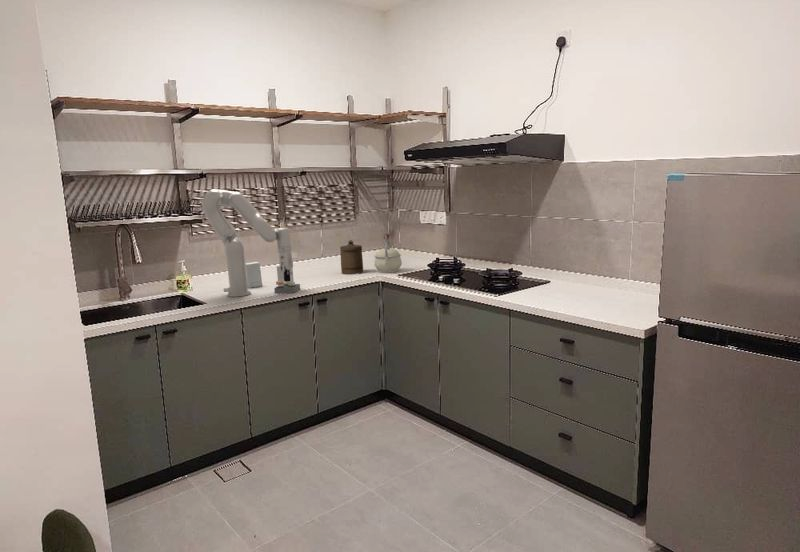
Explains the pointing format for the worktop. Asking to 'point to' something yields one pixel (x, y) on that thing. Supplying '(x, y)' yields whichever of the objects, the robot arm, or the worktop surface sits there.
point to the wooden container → (351, 258)
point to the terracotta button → (279, 282)
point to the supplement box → (281, 275)
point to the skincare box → (253, 274)
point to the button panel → (287, 288)
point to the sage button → (291, 283)
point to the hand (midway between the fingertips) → (287, 281)
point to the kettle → (387, 259)
